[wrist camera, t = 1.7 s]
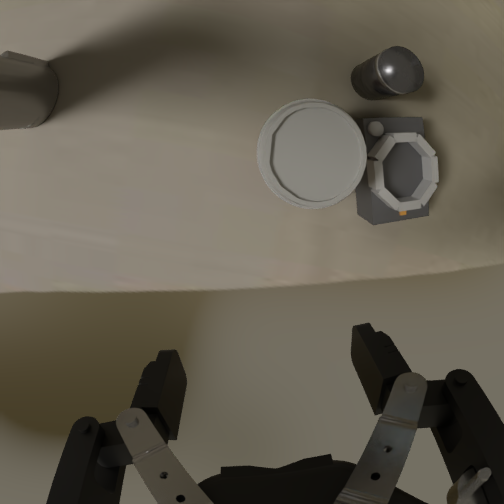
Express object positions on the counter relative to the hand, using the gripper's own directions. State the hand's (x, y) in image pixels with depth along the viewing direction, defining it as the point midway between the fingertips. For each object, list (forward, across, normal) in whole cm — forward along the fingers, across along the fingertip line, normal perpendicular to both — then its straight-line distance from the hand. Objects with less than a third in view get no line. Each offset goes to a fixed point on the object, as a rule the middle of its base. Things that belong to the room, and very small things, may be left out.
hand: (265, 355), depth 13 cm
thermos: (+25, -17, -16) cm, 34 cm away
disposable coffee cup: (+25, -6, -7) cm, 27 cm away
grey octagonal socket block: (+25, -17, -5) cm, 31 cm away
